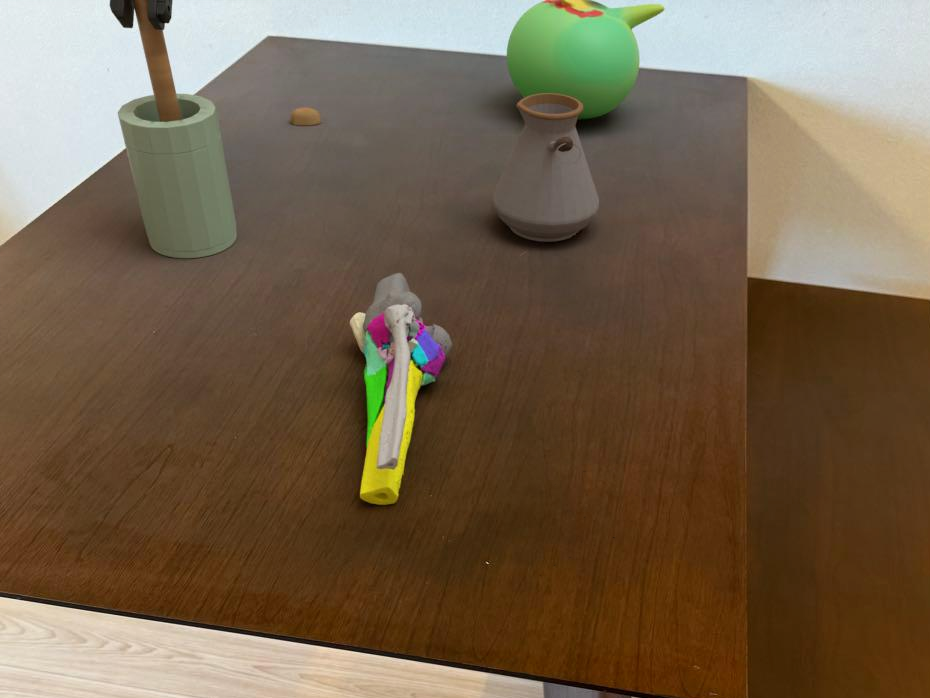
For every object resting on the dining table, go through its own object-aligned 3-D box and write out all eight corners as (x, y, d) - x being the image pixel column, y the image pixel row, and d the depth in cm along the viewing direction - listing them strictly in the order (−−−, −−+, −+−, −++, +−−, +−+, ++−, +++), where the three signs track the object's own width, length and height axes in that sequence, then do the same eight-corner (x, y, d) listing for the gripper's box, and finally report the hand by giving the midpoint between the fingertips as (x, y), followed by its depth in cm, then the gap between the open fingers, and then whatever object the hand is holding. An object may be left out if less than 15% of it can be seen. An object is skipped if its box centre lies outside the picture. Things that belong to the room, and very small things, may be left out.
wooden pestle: (162, 189, 95) (107, -41, 81) (169, 174, 97) (117, -51, 84) (199, 188, 95) (151, -41, 81) (205, 173, 97) (160, -51, 84)
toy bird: (481, 105, 131) (482, -16, 121) (572, 82, 139) (580, -34, 129) (570, 148, 121) (580, 20, 111) (663, 120, 130) (679, -2, 119)
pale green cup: (140, 258, 97) (107, 126, 88) (159, 219, 103) (130, 92, 94) (229, 259, 97) (205, 128, 88) (243, 220, 104) (222, 94, 95)
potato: (321, 125, 124) (320, 111, 123) (290, 126, 123) (288, 112, 122) (321, 117, 126) (320, 103, 125) (290, 118, 125) (288, 104, 124)
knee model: (364, 547, 75) (378, 337, 90) (459, 518, 72) (457, 309, 88) (300, 474, 68) (327, 261, 84) (403, 440, 66) (411, 228, 81)
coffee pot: (489, 202, 109) (491, 61, 99) (590, 203, 110) (602, 63, 100) (499, 298, 94) (503, 142, 83) (616, 297, 94) (635, 143, 84)
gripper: (54, -208, 81) (39, -6, 81) (218, -199, 81) (205, 3, 81) (93, -142, 89) (80, 43, 88) (243, -134, 89) (231, 51, 88)
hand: (140, 23), depth 84 cm, fingers closed on wooden pestle, 2 cm apart
